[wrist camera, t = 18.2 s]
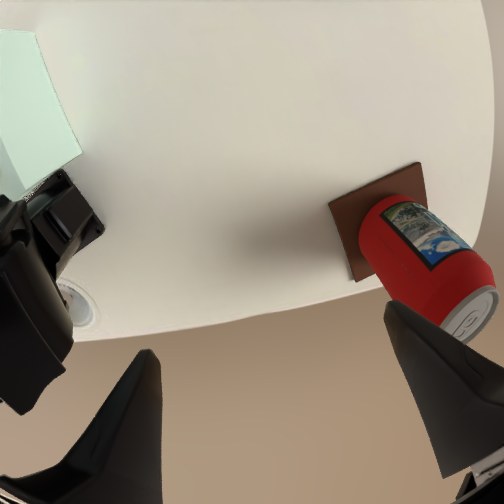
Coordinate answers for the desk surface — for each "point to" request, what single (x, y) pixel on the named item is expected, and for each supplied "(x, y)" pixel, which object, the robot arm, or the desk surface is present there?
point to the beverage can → (428, 266)
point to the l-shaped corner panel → (29, 118)
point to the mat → (362, 201)
